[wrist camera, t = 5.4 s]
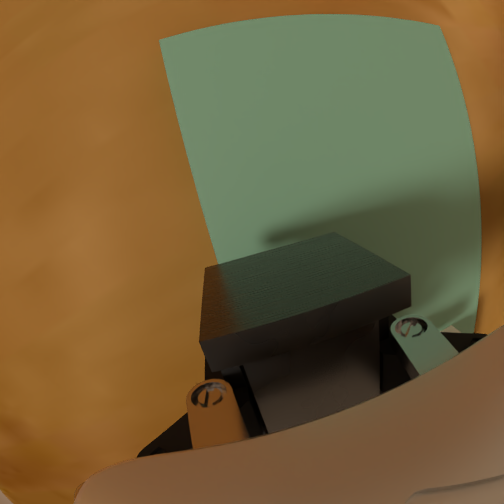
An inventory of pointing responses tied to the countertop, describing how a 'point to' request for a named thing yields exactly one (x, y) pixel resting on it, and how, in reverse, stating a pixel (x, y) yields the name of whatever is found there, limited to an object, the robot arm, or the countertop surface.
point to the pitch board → (335, 145)
